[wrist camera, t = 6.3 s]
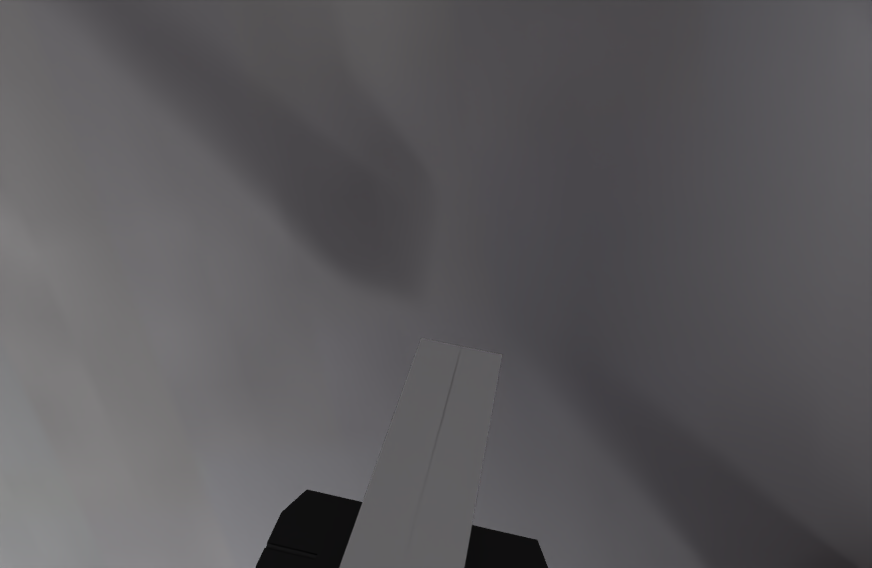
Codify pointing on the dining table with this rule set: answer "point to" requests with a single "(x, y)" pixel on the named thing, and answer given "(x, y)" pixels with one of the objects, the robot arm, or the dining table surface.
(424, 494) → the robot arm
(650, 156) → the dining table surface
